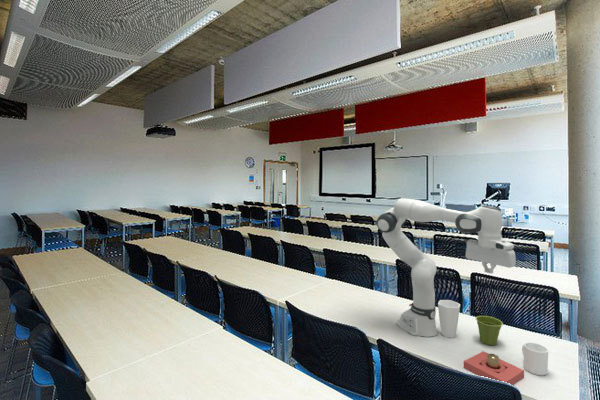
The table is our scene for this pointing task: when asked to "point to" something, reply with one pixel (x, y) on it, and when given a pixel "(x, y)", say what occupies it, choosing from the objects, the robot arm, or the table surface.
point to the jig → (504, 372)
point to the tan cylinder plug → (493, 361)
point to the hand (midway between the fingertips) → (488, 272)
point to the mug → (535, 358)
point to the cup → (448, 317)
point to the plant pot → (488, 329)
